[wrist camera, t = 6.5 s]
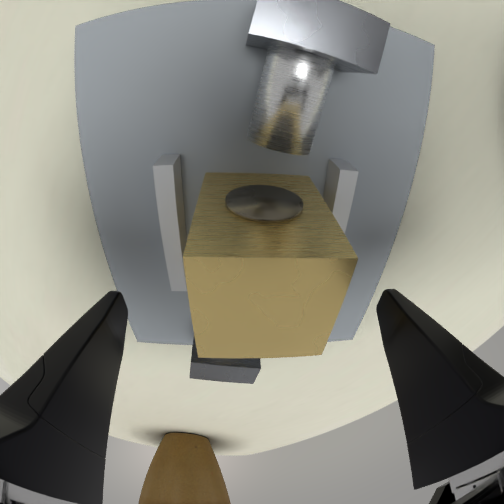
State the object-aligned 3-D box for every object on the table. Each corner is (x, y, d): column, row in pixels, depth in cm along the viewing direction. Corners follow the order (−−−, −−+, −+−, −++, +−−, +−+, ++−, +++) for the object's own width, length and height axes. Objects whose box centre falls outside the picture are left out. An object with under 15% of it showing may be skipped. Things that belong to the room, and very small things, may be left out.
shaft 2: (319, 148, 11) (344, 174, 9) (226, 128, 10) (222, 147, 8) (352, 32, 8) (390, 23, 5) (256, 4, 7) (264, -22, 5)
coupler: (295, 260, 15) (320, 357, 10) (208, 259, 14) (198, 359, 9) (309, 172, 12) (359, 253, 7) (205, 169, 11) (182, 252, 7)
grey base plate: (420, 45, 9) (454, 45, 6) (348, 327, 20) (357, 355, 18) (87, 28, 8) (57, 23, 5) (140, 329, 19) (133, 358, 17)
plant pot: (132, 433, 38) (124, 510, 25) (164, 418, 31) (158, 523, 18) (203, 451, 44) (203, 520, 31) (250, 437, 37) (255, 524, 24)
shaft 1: (200, 277, 15) (194, 323, 12) (271, 287, 16) (278, 331, 13) (193, 337, 18) (189, 377, 16) (250, 343, 19) (253, 383, 16)
